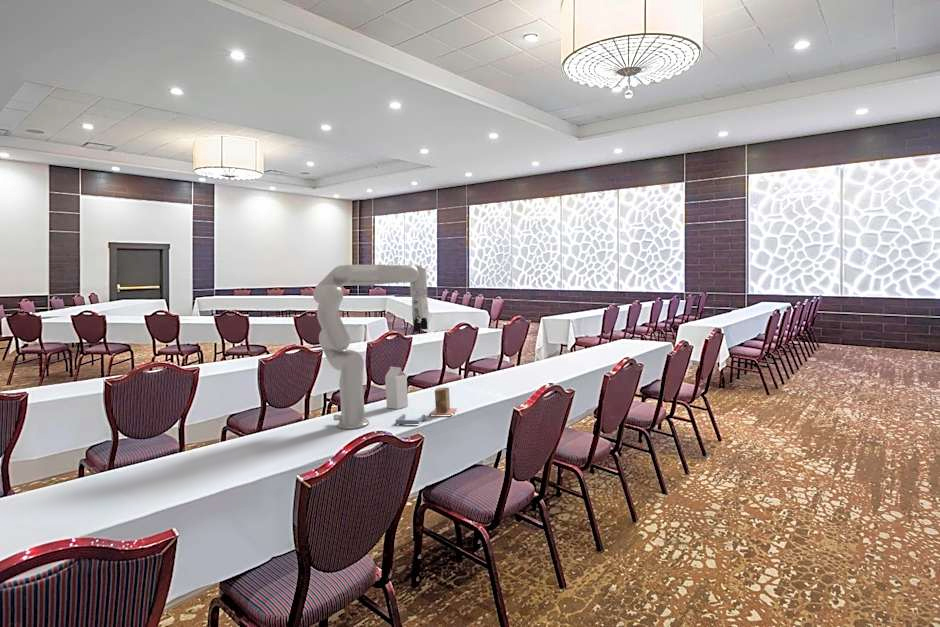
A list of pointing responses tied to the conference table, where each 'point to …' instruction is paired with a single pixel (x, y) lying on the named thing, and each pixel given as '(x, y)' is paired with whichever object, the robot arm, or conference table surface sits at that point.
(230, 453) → the conference table surface
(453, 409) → the terracotta tile
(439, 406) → the walnut block
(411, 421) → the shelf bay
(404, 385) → the milk carton
